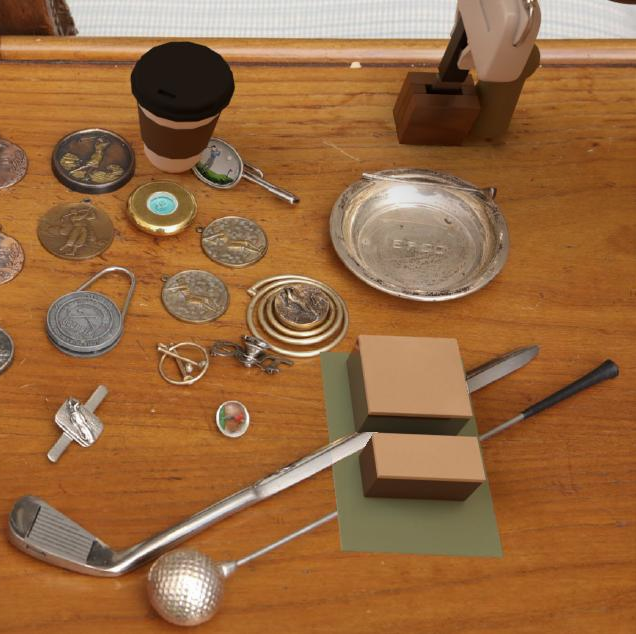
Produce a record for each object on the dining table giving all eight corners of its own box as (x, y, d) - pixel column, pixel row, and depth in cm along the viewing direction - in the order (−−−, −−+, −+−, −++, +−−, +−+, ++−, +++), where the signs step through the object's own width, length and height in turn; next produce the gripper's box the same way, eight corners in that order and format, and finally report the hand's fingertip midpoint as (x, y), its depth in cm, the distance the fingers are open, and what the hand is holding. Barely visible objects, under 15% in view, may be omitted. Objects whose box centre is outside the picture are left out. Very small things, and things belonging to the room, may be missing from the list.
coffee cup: (192, 204, 101) (206, 126, 90) (107, 164, 104) (111, 84, 93) (237, 142, 106) (254, 61, 95) (154, 105, 109) (163, 23, 98)
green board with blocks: (460, 361, 90) (482, 330, 85) (501, 561, 80) (529, 538, 75) (317, 355, 90) (331, 324, 86) (339, 554, 80) (356, 531, 75)
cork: (511, 141, 106) (552, 68, 97) (457, 134, 107) (494, 61, 97) (506, 104, 109) (546, 30, 100) (454, 98, 110) (489, 24, 100)
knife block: (453, 111, 109) (471, 73, 104) (461, 146, 106) (481, 108, 101) (392, 109, 109) (407, 71, 104) (399, 144, 106) (415, 106, 101)
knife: (438, 121, 108) (490, 9, 94) (441, 134, 106) (494, 23, 93) (412, 120, 108) (461, 8, 94) (415, 133, 106) (465, 22, 93)
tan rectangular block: (457, 460, 84) (477, 436, 79) (465, 501, 82) (486, 480, 77) (358, 455, 84) (373, 432, 80) (363, 497, 82) (379, 475, 77)
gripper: (574, 12, 80) (511, 125, 92) (523, -124, 91) (473, -8, 103) (501, 10, 80) (448, 123, 92) (460, -126, 91) (417, -10, 103)
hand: (461, 53), depth 98 cm, fingers closed on knife, 2 cm apart
